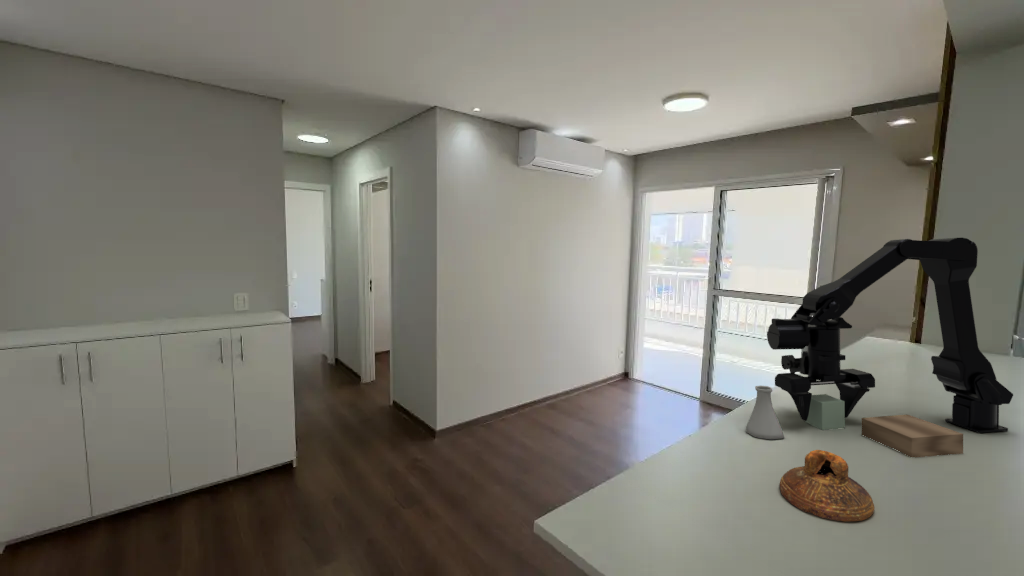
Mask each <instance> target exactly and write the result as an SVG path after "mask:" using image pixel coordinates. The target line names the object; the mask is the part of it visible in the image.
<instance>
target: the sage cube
mask: <svg viewBox="0 0 1024 576" xmlns="http://www.w3.org/2000/svg"><path fill="white" fill-rule="evenodd" d="M845 422H846V418H845V401H842V400H840V398H837V397H834V396H832V395H829V394H827V393H824V394H823V393H821V394H812V397H811V403H810V409H809V415H808V418H807V421H804V423H806V424H810V426H813V427H815V428H817V429H819V430H821V431H830V430H829V429H833V430H839V429H838V428H844V427H845V428H846V423H845Z"/></svg>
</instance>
